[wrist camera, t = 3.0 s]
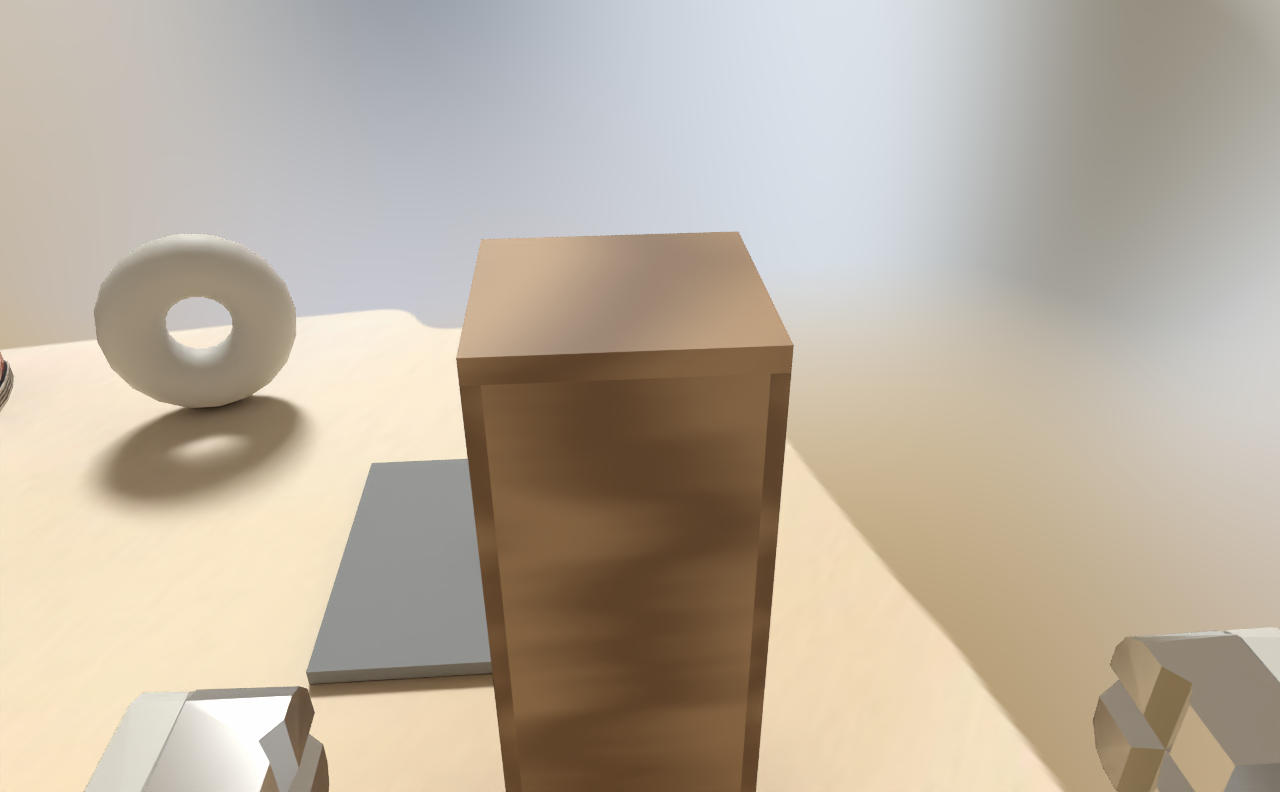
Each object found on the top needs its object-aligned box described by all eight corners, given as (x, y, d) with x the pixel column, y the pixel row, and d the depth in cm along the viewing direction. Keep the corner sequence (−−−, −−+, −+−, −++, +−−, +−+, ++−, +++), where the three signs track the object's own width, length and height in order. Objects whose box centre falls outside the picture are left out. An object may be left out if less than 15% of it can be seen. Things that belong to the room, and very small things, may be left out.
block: (522, 938, 27) (456, 358, 18) (529, 753, 32) (480, 239, 23) (744, 920, 27) (793, 345, 18) (713, 741, 33) (738, 231, 24)
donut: (308, 373, 57) (275, 213, 52) (314, 399, 54) (280, 233, 49) (125, 405, 53) (71, 238, 48) (121, 435, 51) (64, 261, 46)
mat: (309, 683, 35) (306, 672, 35) (373, 473, 47) (371, 463, 47) (732, 658, 36) (733, 647, 36) (689, 458, 48) (689, 448, 48)
